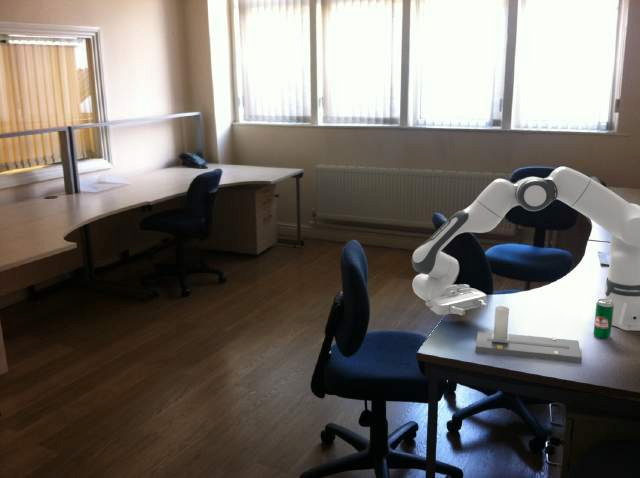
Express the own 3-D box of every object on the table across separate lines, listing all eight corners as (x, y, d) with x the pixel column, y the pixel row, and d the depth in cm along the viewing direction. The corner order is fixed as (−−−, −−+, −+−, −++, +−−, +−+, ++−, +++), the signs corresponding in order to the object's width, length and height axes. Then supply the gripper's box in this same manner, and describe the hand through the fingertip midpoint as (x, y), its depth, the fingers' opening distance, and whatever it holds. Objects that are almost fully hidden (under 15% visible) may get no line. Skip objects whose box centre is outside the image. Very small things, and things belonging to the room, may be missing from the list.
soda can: (590, 336, 203) (594, 301, 200) (597, 331, 207) (600, 297, 203) (606, 341, 200) (610, 305, 197) (613, 336, 203) (616, 300, 200)
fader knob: (508, 336, 198) (510, 306, 195) (508, 343, 193) (510, 312, 191) (492, 334, 199) (493, 305, 197) (491, 341, 195) (493, 310, 192)
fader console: (577, 346, 196) (578, 339, 196) (581, 363, 185) (581, 356, 184) (477, 336, 205) (478, 330, 204) (475, 352, 194) (475, 345, 193)
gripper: (422, 293, 211) (449, 306, 199) (470, 283, 220) (498, 295, 209) (422, 311, 213) (448, 325, 201) (469, 300, 222) (497, 313, 210)
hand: (474, 310), depth 205 cm, fingers open, 8 cm apart
